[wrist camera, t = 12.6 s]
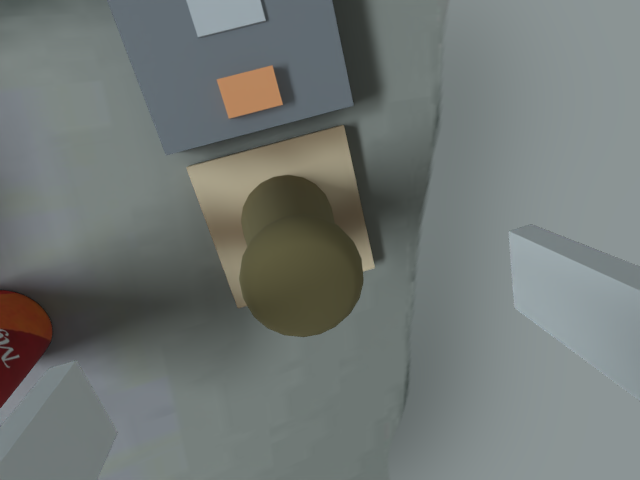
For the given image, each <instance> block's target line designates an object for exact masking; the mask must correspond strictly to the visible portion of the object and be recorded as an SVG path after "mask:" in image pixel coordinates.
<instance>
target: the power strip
mask: <svg viewBox="0 0 640 480" xmlns="http://www.w3.org/2000/svg"><path fill="white" fill-rule="evenodd" d="M107 1H108V4H109V7H110V9H111V12H112V15H113V17H114V20H115V22H116V25H117V28H118V30H119V33H120V36H121V38H122V41H123V44H124V46H125V49H126V51H127V54H128V57H129V59H130V62H131V65H132V67H133V70H134V72H135V75H136V78H137V80H138V83H139V86H140V88H141V91H142V94H143V96H144V99H145V101H146V104H147V107H148V109H149V112H150V115H151V117H152V120H153V123H154V125H155V128H156V130H157V133H158V136H159V138H160V141H161V144H162V146H163V149H164V151H165V154H166V155H169V154H173V153H177V152H181V151H184V150H188V149H192V148H196V147H199V146H203V145H207V144H211V143H215V142H218V141H222V140H226V139H230V138H233V137H237V136H241V135H245V134H248V133H252V132H256V131H260V130H264V129H267V128H271V127H275V126H279V125H282V124H286V123H290V122H294V121H298V120H301V119H305V118H309V117H313V116H316V115H320V114H324V113H328V112H331V111H335V110H339V109H343V108H347V107H350V106H354V104H353V99H352V95H351V90H350V85H349V80H348V75H347V70H346V65H345V61H344V56H343V51H342V46H341V41H340V36H339V31H338V27H337V22H336V17H335V12H334V7H333V2H332V0H107Z"/></svg>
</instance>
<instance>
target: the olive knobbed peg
mask: <svg viewBox="0 0 640 480" xmlns="http://www.w3.org/2000/svg"><path fill="white" fill-rule="evenodd" d="M241 224H242V229H243V234H244V238H245V241H246V244H247V248H246V250H245V252H244V254H243V256H242V262H241V269H240V275H239V282H240V287H241V292H242V296H243V299H244V301H245V303H246V304H247V306H248V308H249V309H250V311H251V313H252V314H253V316H254V317H255V318H256V319H257V320H258V321H260V322H261V323H262V324H263V325H264V326H266V327H267V328H268V329H271V330H273V331H276V332H278V333H280V334H283V335H288V336H298V337H307V336H312V335H318V334H321V333H323V332H325V331H327V330H329V329H332V328H334V327H336V326H337V325H338V324H339V323H340V322H341V321H342V320H343V319H345V318H346V317H347V316H348V315H349V314H350V313H351V311H352V310H353V308H354V306H355V305H356V303H357V301H358V300H359V298H360V294H361V290H362V286H363V268H362V258H361V256H360V254H359V252H358V250H357V247H356V245H355V243H354V242H353V240H352V239H351V238H350V237H349V236H348V235H347V234H346V233H345V232H344V231H343V230H342V229H341V228H340V227H339V226H338V225H337V224H335V222H334V217H333V212H332V207H331V205H330V203H329V201H328V199H327V196H326V194H325V193H324V192H323V191H322V190H321V189H320V188H319V187H318V186H317V185H316V184H314V183H313V182H311V181H309V180H307V179H305V178H303V177H298V176H293V175H283V176H276V177H272V178H270V179H268V180H266V181H264V182H262V183H260V184H259V185H258V186H257V187H256V188H255V189H254V190H253V191H252V192H251V193H250V194H249V196H248V198H247V200H246V202H245V204H244V206H243V210H242V217H241Z"/></svg>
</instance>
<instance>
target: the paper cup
mask: <svg viewBox="0 0 640 480" xmlns="http://www.w3.org/2000/svg"><path fill="white" fill-rule="evenodd" d="M51 339H52V324H51V321H50V318H49V316H48V315H47V313H46V312H45V310H44V309H43V308H42V307H41V306H40V305H39V304H38V303H36V302H35V301H34V300H32V299H30V298H29V297H27V296H25V295H22V294H20V293H16V292H12V291H6V290H0V408H1V407H2V406H3V404H4V403H5V402H6V401H7V399H8V398H9V397H10V396H11V394H12V393H13V392H14V391H15V389H16V388H17V387H18V386H19V384H20V383H21V382H22V381H23V379H24V378H25V377H26V375H27V374H28V373H29V372H30V370H31V369H32V368H33V367H34V365H35V364H36V363H37V361H38V360H39V359H40V357H41V356H42V355H43V353H44V352H45V351H46V349H47V348H48V346H49V344H50V342H51Z"/></svg>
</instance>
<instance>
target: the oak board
mask: <svg viewBox="0 0 640 480" xmlns="http://www.w3.org/2000/svg"><path fill="white" fill-rule="evenodd" d="M186 168H187V171H188V174H189V176H190V179H191V182H192V185H193V187H194V190H195V193H196V195H197V198H198V201H199V204H200V206H201V209H202V212H203V215H204V217H205V220H206V223H207V226H208V228H209V231H210V234H211V236H212V239H213V242H214V245H215V247H216V250H217V253H218V256H219V258H220V261H221V264H222V267H223V269H224V272H225V275H226V277H227V280H228V283H229V286H230V288H231V291H232V294H233V297H234V299H235V302H236V305H237V308H241V307H245V306H247V304H246V303H245V301H244V299H243V296H242V292H241V287H240V282H239V275H240V269H241V262H242V256H243V254H244V252H245V250H246V248H247V244H246V241H245V238H244V234H243V229H242V224H241V217H242V210H243V206H244V204H245V202H246V200H247V198H248V196H249V194H250V193H251V192H252V191H253V190H254V189H255V188H256V187H257V186H258V185H259V184H260V183H262V182H264V181H266V180H268V179H270V178H272V177H276V176H283V175H293V176H298V177H303V178H305V179H307V180H309V181H311V182H313V183H314V184H316V185H317V186H318V187H319V188H320V189H321V190H322V191H323V192H324V193H325V194H326V196H327V199H328V201H329V203H330V205H331V207H332V212H333V217H334V222H335V224H337V225H338V226H339V227H340V228H341V229H342V230H343V231H344V232H345V233H346V234H347V235H348V236H349V237H350V238H351V239H352V240H353V242H354V243H355V245H356V247H357V250H358V252H359V254H360V256H361V258H362V268H363V271H367V270H370V269H373V268H375V266H374V261H373V257H372V252H371V247H370V243H369V238H368V234H367V229H366V225H365V220H364V215H363V211H362V206H361V202H360V197H359V192H358V188H357V183H356V179H355V174H354V169H353V165H352V160H351V156H350V151H349V146H348V142H347V137H346V133H345V128H344V125H339V126H335V127H332V128H328V129H324V130H320V131H317V132H313V133H309V134H306V135H302V136H298V137H294V138H291V139H287V140H283V141H279V142H276V143H272V144H268V145H264V146H261V147H257V148H253V149H250V150H246V151H242V152H238V153H235V154H231V155H227V156H223V157H220V158H216V159H212V160H209V161H205V162H201V163H197V164H194V165H190V166H188V167H186Z"/></svg>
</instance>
